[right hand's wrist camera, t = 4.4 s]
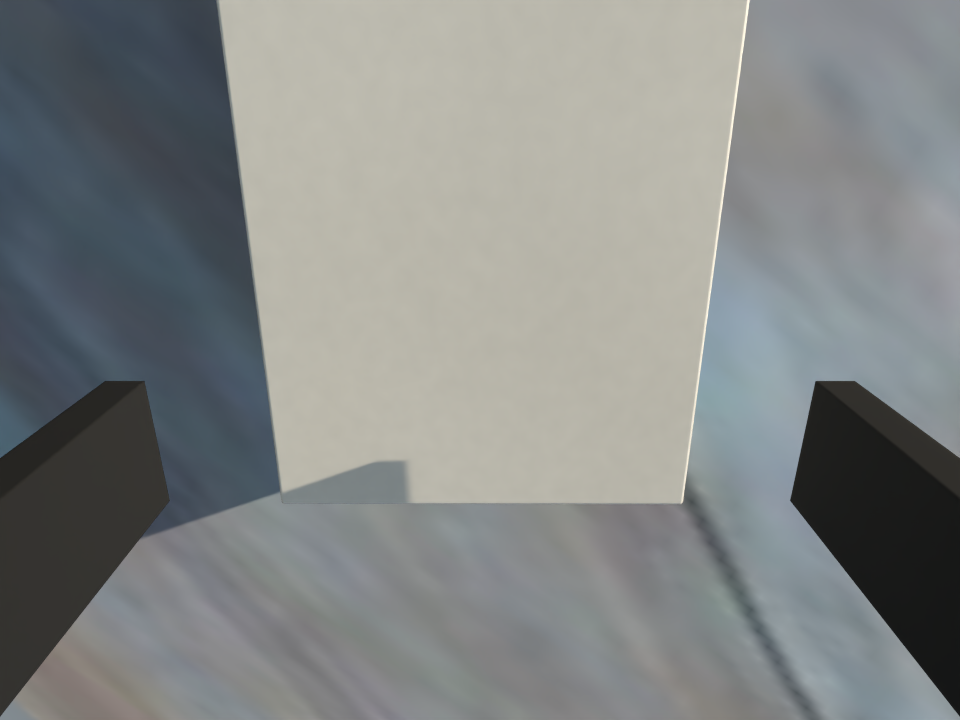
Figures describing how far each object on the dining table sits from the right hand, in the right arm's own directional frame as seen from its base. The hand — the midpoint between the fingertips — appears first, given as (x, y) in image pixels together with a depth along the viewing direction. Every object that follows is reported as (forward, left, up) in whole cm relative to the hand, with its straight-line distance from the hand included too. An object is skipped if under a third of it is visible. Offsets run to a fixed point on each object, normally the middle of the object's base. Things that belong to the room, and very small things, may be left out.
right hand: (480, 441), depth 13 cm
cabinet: (+6, +4, -11) cm, 13 cm away
